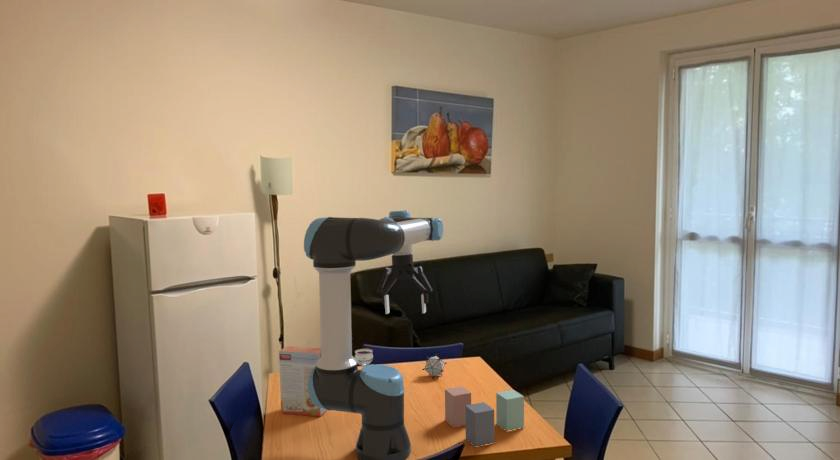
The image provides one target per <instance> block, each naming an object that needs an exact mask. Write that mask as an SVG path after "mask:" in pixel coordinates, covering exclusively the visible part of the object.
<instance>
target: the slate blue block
mask: <svg viewBox="0 0 840 460" xmlns="http://www.w3.org/2000/svg"><path fill="white" fill-rule="evenodd" d="M465 440H466V441H467V440H468V441H467V442H468V443H469V444H471V443H472V444H473V445H474V446H475V447H476V446H481V445H485V444H490V443H493V442H494V443H495V409H494V408H493V407H491V406H490V405H489V404H487V403H486V402H485V401H482V402H477V403H471V405H466V426H465ZM472 444H471V445H472ZM473 445H472V446H473ZM474 446H473V447H474ZM475 447H474V448H475Z"/></svg>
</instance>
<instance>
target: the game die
mask: <svg viewBox="0 0 840 460" xmlns="http://www.w3.org/2000/svg"><path fill="white" fill-rule="evenodd" d="M426 359H427V360H425V362H426V363H425V365H424V366H425V367H424V368H422V371H426V372H427V373H428V374H429V375H430V376H431V377H432V378H431V379H433V380H434V378H435V377H437V376H444V375H443V374H442V373H444V369H445V366H446V365H447V364H448V362H444V360H442V359H441V358H440V357H439V356H438V354H437V353H436V354H435V355H434V356H431V357H429V356H426Z"/></svg>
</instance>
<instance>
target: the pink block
mask: <svg viewBox="0 0 840 460" xmlns="http://www.w3.org/2000/svg"><path fill="white" fill-rule="evenodd" d="M471 404H472V392H471V391H470V390H469V389H466V388H465V387H464V386H463V385H461V386H456V387H450V388H444V420H445V422H447V424H449V426H450V427H452V428H453V429H455V428H460V427H466V405H471Z"/></svg>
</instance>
